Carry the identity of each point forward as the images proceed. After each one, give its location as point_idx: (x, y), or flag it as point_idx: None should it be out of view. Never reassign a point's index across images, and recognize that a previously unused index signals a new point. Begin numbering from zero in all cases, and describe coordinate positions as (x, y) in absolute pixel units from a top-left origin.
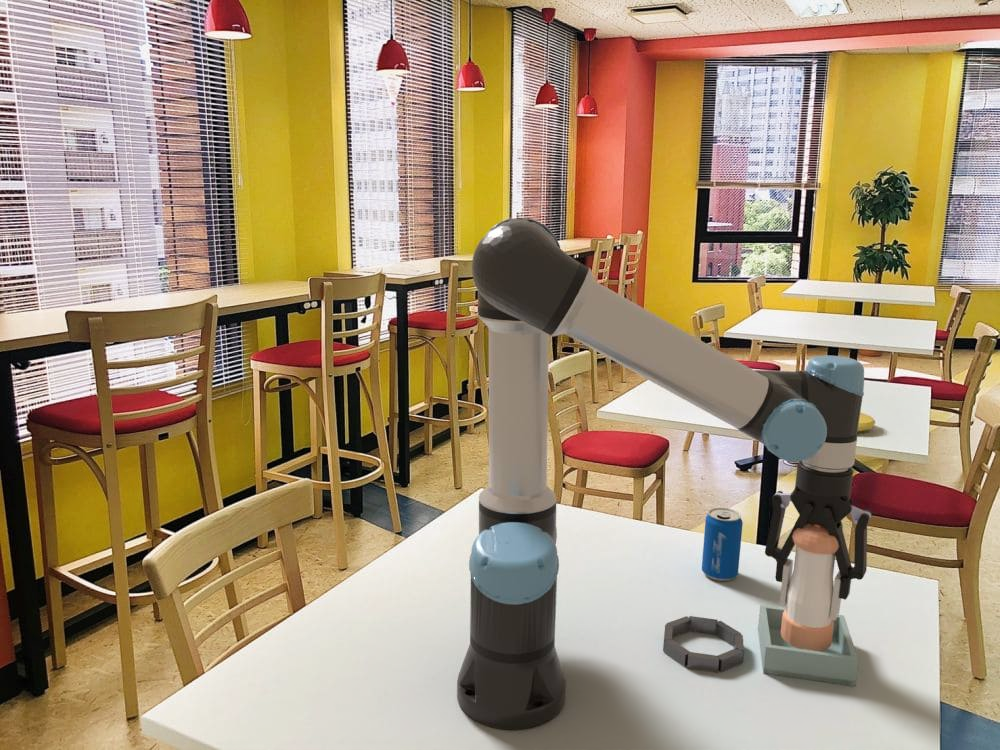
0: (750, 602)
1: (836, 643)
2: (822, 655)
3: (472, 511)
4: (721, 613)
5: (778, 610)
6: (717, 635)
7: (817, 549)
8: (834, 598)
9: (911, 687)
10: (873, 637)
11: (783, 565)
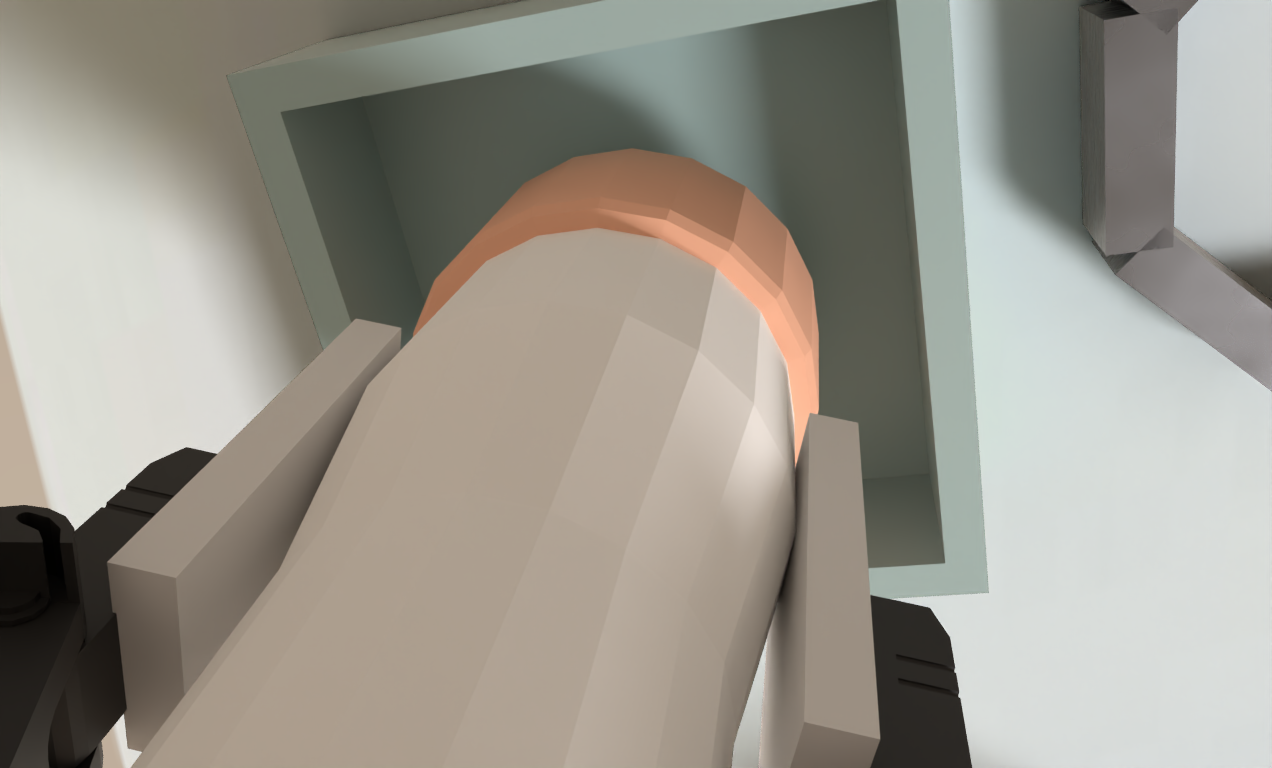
0: (1009, 747)
1: None
2: (475, 27)
3: None
4: (1212, 584)
5: None
6: (1267, 298)
7: None
8: (285, 429)
9: (59, 180)
10: None
11: (878, 764)
